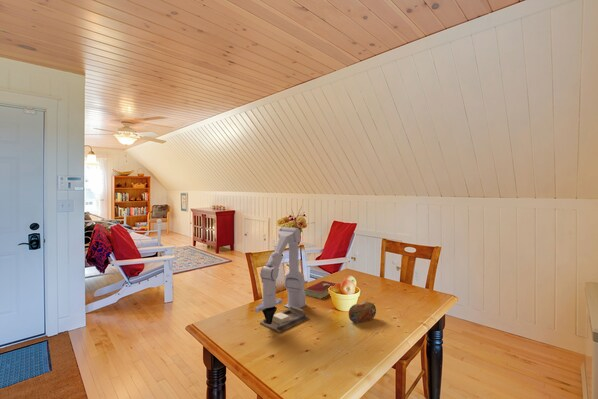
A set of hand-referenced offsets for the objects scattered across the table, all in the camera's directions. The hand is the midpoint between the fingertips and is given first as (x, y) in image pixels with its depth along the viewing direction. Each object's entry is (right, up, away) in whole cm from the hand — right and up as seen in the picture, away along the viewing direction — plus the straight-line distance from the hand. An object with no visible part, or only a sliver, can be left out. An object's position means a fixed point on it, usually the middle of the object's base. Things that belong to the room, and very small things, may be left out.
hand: (268, 323), depth 131 cm
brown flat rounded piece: (+44, -3, +9) cm, 45 cm away
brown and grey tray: (+7, -2, +8) cm, 11 cm away
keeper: (+5, -2, +5) cm, 8 cm away
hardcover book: (+27, -2, +48) cm, 55 cm away
